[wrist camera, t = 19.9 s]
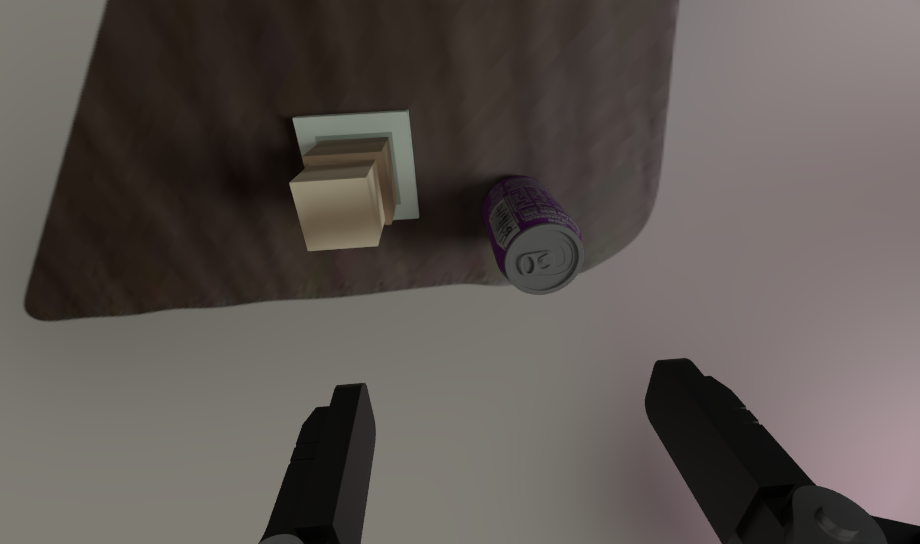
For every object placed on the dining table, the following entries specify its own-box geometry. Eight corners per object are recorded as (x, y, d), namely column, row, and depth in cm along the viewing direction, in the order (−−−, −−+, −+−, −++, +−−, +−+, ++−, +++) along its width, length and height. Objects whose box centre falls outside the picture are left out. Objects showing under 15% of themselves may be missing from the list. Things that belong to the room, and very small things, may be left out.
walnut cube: (321, 140, 34) (301, 156, 29) (388, 136, 35) (381, 151, 29) (335, 204, 37) (319, 229, 32) (397, 200, 38) (391, 224, 32)
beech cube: (310, 163, 29) (289, 182, 25) (375, 159, 30) (366, 177, 25) (324, 224, 32) (308, 251, 28) (385, 220, 32) (377, 245, 28)
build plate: (296, 116, 34) (292, 118, 33) (408, 109, 35) (407, 111, 34) (321, 220, 39) (318, 225, 38) (419, 213, 40) (418, 218, 39)
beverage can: (489, 245, 42) (508, 308, 32) (474, 183, 39) (490, 232, 28) (553, 229, 42) (593, 287, 31) (544, 165, 38) (586, 207, 28)
